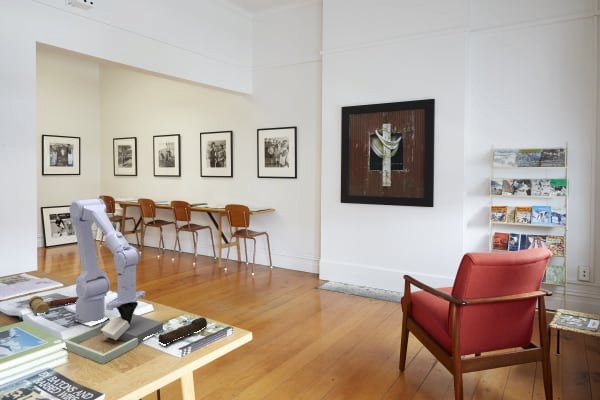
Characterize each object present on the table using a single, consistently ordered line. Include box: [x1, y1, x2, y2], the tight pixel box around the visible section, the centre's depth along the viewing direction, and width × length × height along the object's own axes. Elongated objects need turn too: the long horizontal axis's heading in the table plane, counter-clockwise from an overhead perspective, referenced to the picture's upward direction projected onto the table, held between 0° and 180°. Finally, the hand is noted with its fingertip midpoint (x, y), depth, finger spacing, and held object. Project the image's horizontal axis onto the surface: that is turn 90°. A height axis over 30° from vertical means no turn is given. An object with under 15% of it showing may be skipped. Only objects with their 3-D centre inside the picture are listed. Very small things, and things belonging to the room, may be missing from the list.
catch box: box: [63, 325, 139, 365], centre depth 129 cm, size 18×13×2 cm
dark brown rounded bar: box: [158, 316, 208, 344], centre depth 139 cm, size 19×4×5 cm, turn 141°
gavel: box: [27, 295, 79, 314], centre depth 159 cm, size 21×5×10 cm
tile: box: [101, 316, 130, 341], centre depth 134 cm, size 6×6×2 cm
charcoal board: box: [100, 313, 164, 345], centre depth 140 cm, size 16×12×3 cm
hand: (126, 323), depth 137 cm, fingers closed
